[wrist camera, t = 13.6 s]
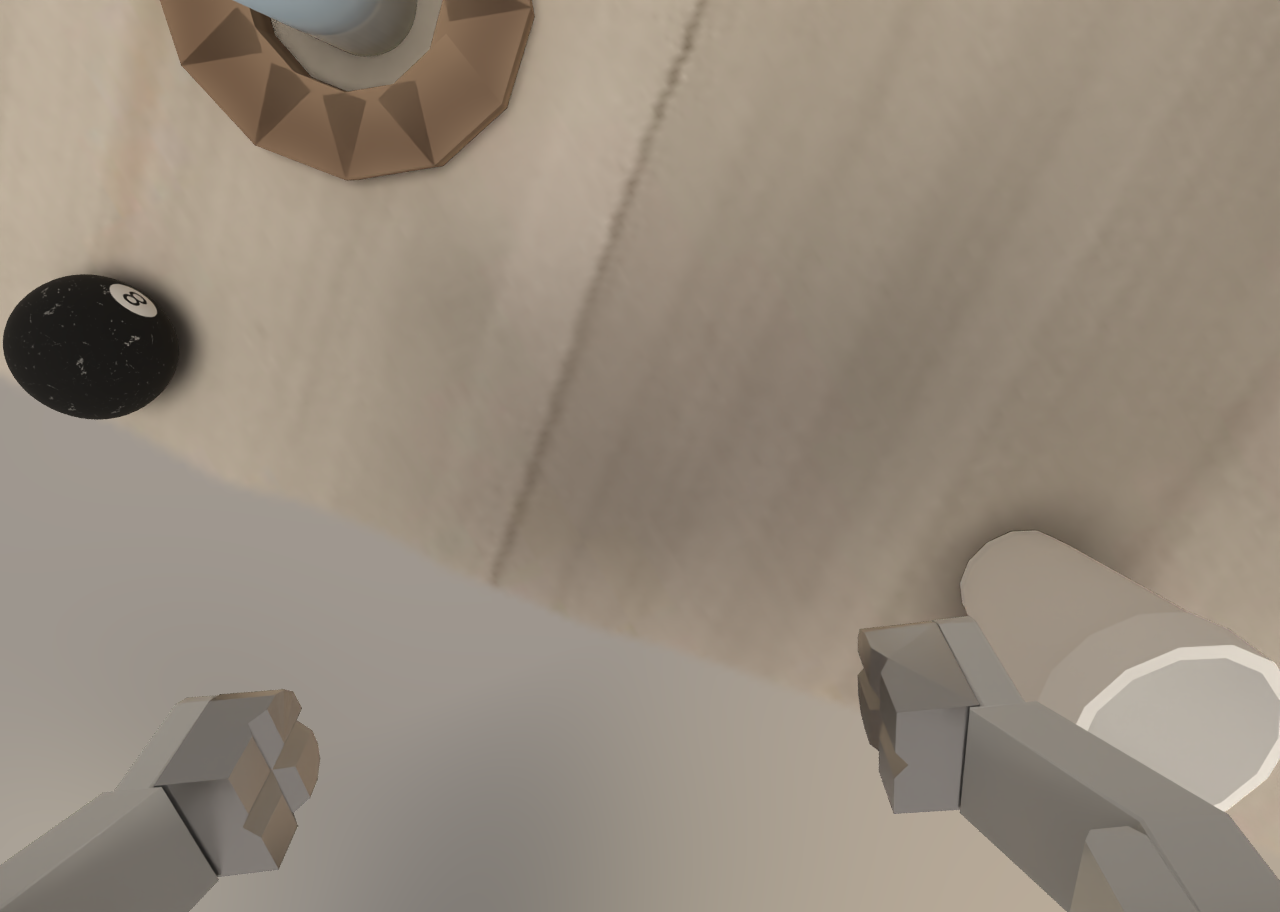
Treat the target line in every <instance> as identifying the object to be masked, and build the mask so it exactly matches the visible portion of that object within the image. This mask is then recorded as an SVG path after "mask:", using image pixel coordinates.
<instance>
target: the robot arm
mask: <svg viewBox="0 0 1280 912" xmlns="http://www.w3.org/2000/svg"><path fill="white" fill-rule="evenodd" d="M858 653H859V656H860V659H861V662H862V664H863V667H864V668H863V670H862V671H861V672H860V673H859V674H858V696H859V703H860V710H861V716H862V720H863V724H864V728H865V731H866V734H867V737H868V740H869V743H870V745H872V746H873V747H874V748H876V749H877V750H878V751H879V773H880V776H881V778H882V782H883V785H884V787H885V790H886V793H887V796H888V799H889V802H890V805H891V808H892V810H893V813H894V814H897V813H898V814H899V813H914V812H930V811H946V810H960V813H961V814H962V815H963V816H964V817H965V818H966V819H967V820H968V821H969V822H970V823H971V824H972V825H974V826H975V827H976V828H977V829H978V830H979V831H980V832H981V833H982V834H983V835H984V836H985V837H987V838H988V839H989V840H990V841H991V842H992V843H993V844H994V845H995V846H996V847H997V848H999V849H1000V850H1001V851H1002V852H1003V853H1004V854H1005V855H1006V856H1007V857H1008V858H1009V859H1010V860H1012V861H1013V862H1014V863H1015V864H1016V865H1017V866H1018V867H1019V868H1020V869H1021V870H1022V871H1023V872H1025V873H1026V874H1027V875H1028V876H1029V877H1030V878H1031V879H1032V880H1033V881H1034V882H1035V883H1036V884H1038V885H1039V886H1040V887H1041V888H1042V889H1043V890H1044V891H1045V892H1046V893H1047V894H1048V895H1049V896H1051V897H1052V898H1053V899H1054V900H1055V901H1056V902H1057V903H1058V904H1059V905H1060V906H1061V907H1062V908H1063V909H1065V910H1066V911H1067V912H1280V880H1279V879H1278V878H1277V876H1276V875H1275V874H1274V873H1273V871H1272V870H1271V869H1270V867H1269V866H1268V865H1267V864H1266V862H1265V861H1264V860H1263V858H1262V857H1261V856H1260V854H1259V853H1258V852H1257V851H1256V849H1255V848H1254V847H1253V845H1252V844H1251V843H1250V841H1249V840H1248V839H1247V838H1246V836H1245V835H1244V834H1243V832H1242V831H1241V830H1240V829H1239V827H1238V826H1237V825H1236V823H1235V822H1234V821H1233V820H1232V818H1231V817H1230V816H1229V815H1228V814H1227V813H1225V812H1223V811H1222V810H1220V809H1218V808H1216V807H1215V806H1213V805H1211V804H1210V803H1208V802H1206V801H1205V800H1203V799H1201V798H1200V797H1198V796H1196V795H1194V794H1193V793H1191V792H1189V791H1188V790H1186V789H1184V788H1183V787H1181V786H1179V785H1178V784H1176V783H1174V782H1173V781H1171V780H1169V779H1167V778H1166V777H1164V776H1162V775H1161V774H1159V773H1157V772H1156V771H1154V770H1152V769H1151V768H1149V767H1147V766H1145V765H1144V764H1142V763H1140V762H1139V761H1137V760H1135V759H1134V758H1132V757H1130V756H1129V755H1127V754H1125V753H1124V752H1122V751H1120V750H1118V749H1117V748H1115V747H1113V746H1112V745H1110V744H1108V743H1107V742H1105V741H1103V740H1102V739H1100V738H1098V737H1096V736H1095V735H1093V734H1091V733H1090V732H1088V731H1086V730H1085V729H1083V728H1081V727H1080V726H1078V725H1076V724H1075V723H1073V722H1071V721H1069V720H1068V719H1066V718H1064V717H1063V716H1061V715H1059V714H1058V713H1056V712H1054V711H1053V710H1051V709H1049V708H1047V707H1046V706H1044V705H1042V704H1041V703H1039V702H1037V701H1034V702H1025V701H1024V699H1023V697H1022V696H1021V694H1020V692H1019V691H1018V689H1017V688H1016V686H1015V684H1014V683H1013V681H1012V679H1011V678H1010V676H1009V674H1008V673H1007V671H1006V669H1005V668H1004V666H1003V665H1002V663H1001V661H1000V660H999V658H998V656H997V655H996V653H995V651H994V650H993V648H992V646H991V645H990V643H989V641H988V640H987V638H986V637H985V635H984V633H983V632H982V630H981V628H980V627H979V625H978V623H977V622H976V620H975V619H973V618H972V617H970V616H963V617H955V618H947V619H939V620H933V621H932V622H931V621H926V622H917V623H909V624H900V625H891V626H882V627H873V628H864V629H860V630H859V634H858ZM301 709H302V707H301V705H300V704H299V702H298V700H297V698H296V696H295V694H294V692H293V691H289V690H285V689H281V690H268V691H255V692H244V693H230V694H220V695H217V696H202V697H188V698H185V699H184V700H182V701H180V702H179V703H177V704H176V705H175V706H174V707H173V709H172V710H171V711H170V713H169V714H168V716H167V717H166V719H165V720H164V721H163V723H162V724H161V726H160V727H159V728H158V730H157V731H156V733H155V734H154V736H153V737H152V738H151V740H150V741H149V743H148V744H147V745H146V747H145V748H144V749H143V751H142V753H141V754H140V755H139V757H138V758H137V759H136V761H135V762H134V764H133V765H132V766H131V768H130V769H129V771H128V772H127V773H126V775H125V776H124V778H123V779H122V780H121V782H120V783H119V785H118V786H117V787H116V789H115V790H114V792H105V793H102V794H100V795H99V796H98V797H96V798H95V799H93V800H92V801H90V802H89V803H87V804H86V805H85V806H83V807H82V808H80V809H79V810H77V811H76V812H75V813H73V814H72V815H70V816H69V817H68V818H66V819H65V820H63V821H62V822H60V823H59V824H58V825H56V826H55V827H53V828H52V829H51V830H49V831H48V832H46V833H45V834H44V835H42V836H41V837H39V838H38V839H36V840H35V841H34V842H32V843H31V844H29V845H28V846H26V847H25V848H24V849H22V850H21V851H19V852H18V853H16V854H15V855H14V856H12V857H11V858H9V859H8V860H7V861H5V862H4V863H2V864H1V865H0V912H189V911H190V910H191V909H192V908H193V907H194V906H195V905H196V903H198V901H199V900H200V899H201V898H202V897H203V896H204V895H205V894H206V893H207V892H208V891H209V890H210V889H211V888H212V887H213V886H214V885H215V884H216V883H217V881H218V880H219V879H218V877H221V876H230V875H238V874H246V873H255V872H263V871H271V870H278V869H279V868H280V865H281V863H282V861H283V859H284V856H285V854H286V852H287V850H288V847H289V845H290V843H291V840H292V838H293V836H294V834H295V831H296V829H297V827H298V825H297V822H296V819H295V816H294V812H295V811H296V810H297V809H298V808H299V807H300V806H302V805H303V804H304V803H305V802H306V801H307V800H308V799H309V798H310V797H311V795H312V792H313V789H314V787H315V785H316V782H317V780H318V772H319V764H320V755H319V748H318V743H317V741H316V738H315V736H314V733H313V731H312V730H311V729H309V728H308V727H306V726H305V725H303V724H302V723H300V722H299V721H297V718H298V716H299V714H300V712H301Z"/></svg>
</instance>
